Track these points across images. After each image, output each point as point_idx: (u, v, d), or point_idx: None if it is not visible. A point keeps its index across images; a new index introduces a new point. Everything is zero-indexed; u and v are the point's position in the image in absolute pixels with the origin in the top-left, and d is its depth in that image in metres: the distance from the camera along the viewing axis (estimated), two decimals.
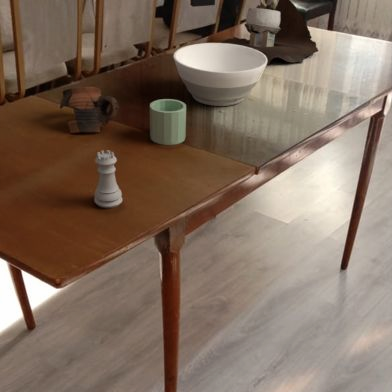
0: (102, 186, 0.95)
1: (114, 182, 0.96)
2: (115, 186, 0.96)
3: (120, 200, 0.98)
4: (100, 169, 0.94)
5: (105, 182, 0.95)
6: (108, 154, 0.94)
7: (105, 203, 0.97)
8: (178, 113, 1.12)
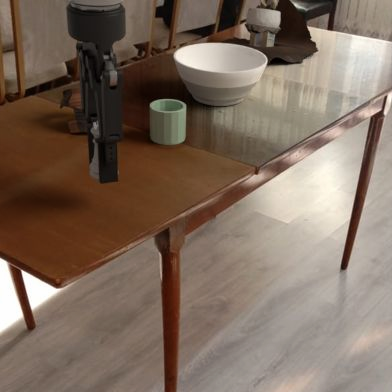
0: None
1: None
2: None
3: None
4: None
5: None
6: None
7: None
8: (178, 113, 1.12)
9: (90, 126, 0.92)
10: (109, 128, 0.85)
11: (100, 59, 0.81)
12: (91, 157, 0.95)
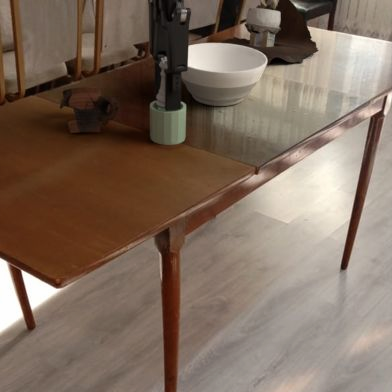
0: (164, 89, 1.11)
1: None
2: None
3: None
4: (163, 73, 1.09)
5: None
6: None
7: None
8: (178, 113, 1.12)
9: (157, 62, 1.11)
10: (177, 59, 1.03)
11: (172, 0, 0.99)
12: (157, 90, 1.13)
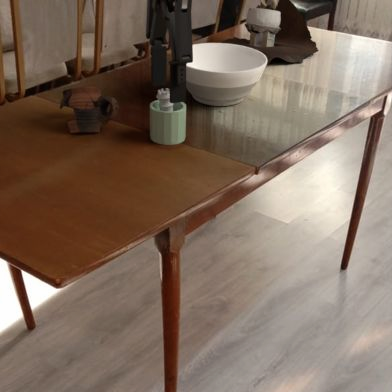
0: None
1: None
2: None
3: None
4: (161, 104, 1.13)
5: None
6: (167, 91, 1.13)
7: None
8: (178, 113, 1.12)
9: (154, 47, 1.11)
10: (182, 48, 1.01)
11: None
12: (153, 75, 1.14)
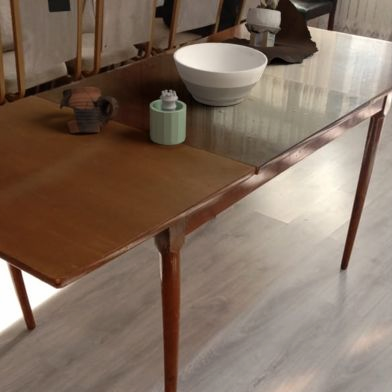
0: None
1: None
2: None
3: None
4: (164, 105, 1.13)
5: None
6: (171, 93, 1.13)
7: None
8: (178, 113, 1.12)
9: None
10: None
11: None
12: None
